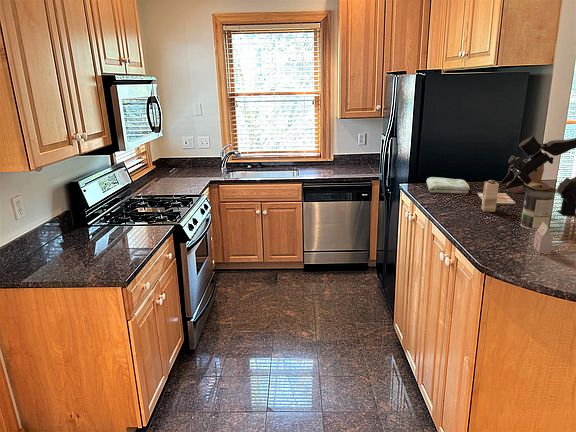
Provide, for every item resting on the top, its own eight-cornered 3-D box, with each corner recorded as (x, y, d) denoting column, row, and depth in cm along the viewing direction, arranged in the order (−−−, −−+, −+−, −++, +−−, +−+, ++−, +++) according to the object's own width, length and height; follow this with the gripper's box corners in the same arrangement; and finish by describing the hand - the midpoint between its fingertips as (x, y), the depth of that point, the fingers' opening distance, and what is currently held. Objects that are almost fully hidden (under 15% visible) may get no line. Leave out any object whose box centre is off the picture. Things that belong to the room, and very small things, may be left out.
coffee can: (517, 227, 180) (522, 194, 175) (523, 221, 187) (528, 189, 183) (545, 232, 174) (551, 198, 169) (550, 225, 181) (556, 193, 177)
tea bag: (544, 247, 159) (548, 221, 156) (550, 254, 153) (554, 228, 150) (533, 247, 160) (537, 221, 157) (538, 254, 154) (543, 227, 151)
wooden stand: (518, 184, 248) (522, 158, 243) (540, 184, 246) (545, 158, 241) (526, 190, 234) (531, 163, 229) (550, 191, 232) (555, 163, 227)
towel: (470, 194, 231) (471, 185, 229) (428, 193, 235) (429, 184, 233) (464, 186, 248) (465, 177, 246) (425, 185, 252) (426, 176, 250)
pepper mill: (495, 211, 201) (499, 182, 196) (483, 211, 202) (487, 181, 197) (492, 208, 205) (496, 179, 201) (481, 208, 206) (484, 179, 202)
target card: (515, 204, 211) (516, 202, 211) (485, 203, 213) (485, 201, 213) (505, 194, 228) (505, 193, 227) (477, 193, 230) (477, 192, 230)
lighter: (505, 191, 233) (508, 173, 230) (505, 190, 236) (508, 172, 233) (522, 193, 230) (525, 174, 227) (522, 191, 233) (525, 173, 230)
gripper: (517, 146, 201) (488, 169, 207) (527, 153, 183) (495, 177, 190) (533, 163, 201) (503, 185, 207) (544, 172, 184) (512, 196, 190)
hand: (503, 186), depth 199 cm, fingers open, 9 cm apart
